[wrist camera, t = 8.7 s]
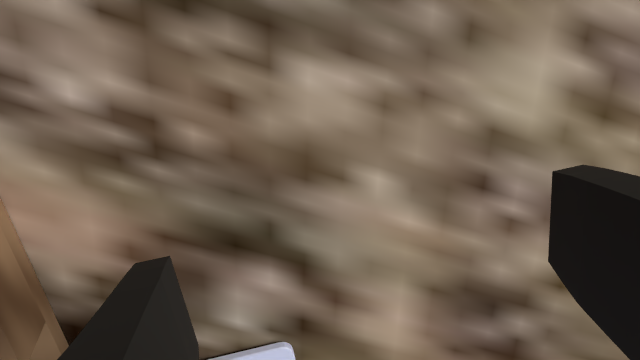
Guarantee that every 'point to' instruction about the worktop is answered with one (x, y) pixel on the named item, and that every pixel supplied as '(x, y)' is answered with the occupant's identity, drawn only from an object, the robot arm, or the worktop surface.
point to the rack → (24, 304)
